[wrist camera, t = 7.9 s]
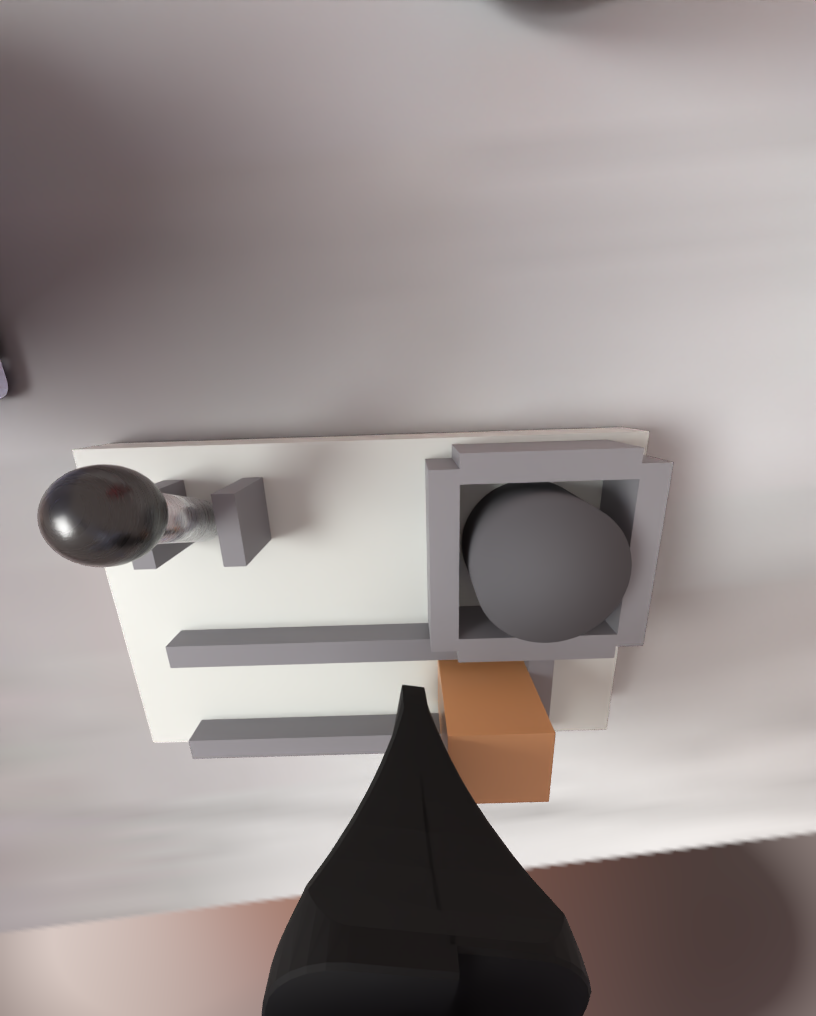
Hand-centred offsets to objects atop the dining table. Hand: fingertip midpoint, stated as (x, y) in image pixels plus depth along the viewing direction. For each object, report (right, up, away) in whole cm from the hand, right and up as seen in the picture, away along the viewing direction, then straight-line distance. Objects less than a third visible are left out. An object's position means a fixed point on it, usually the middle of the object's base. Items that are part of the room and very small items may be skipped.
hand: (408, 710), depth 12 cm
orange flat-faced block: (+2, +1, +1) cm, 3 cm away
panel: (-1, +4, +2) cm, 4 cm away
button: (+4, +6, 0) cm, 7 cm away
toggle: (-6, +6, -2) cm, 9 cm away
